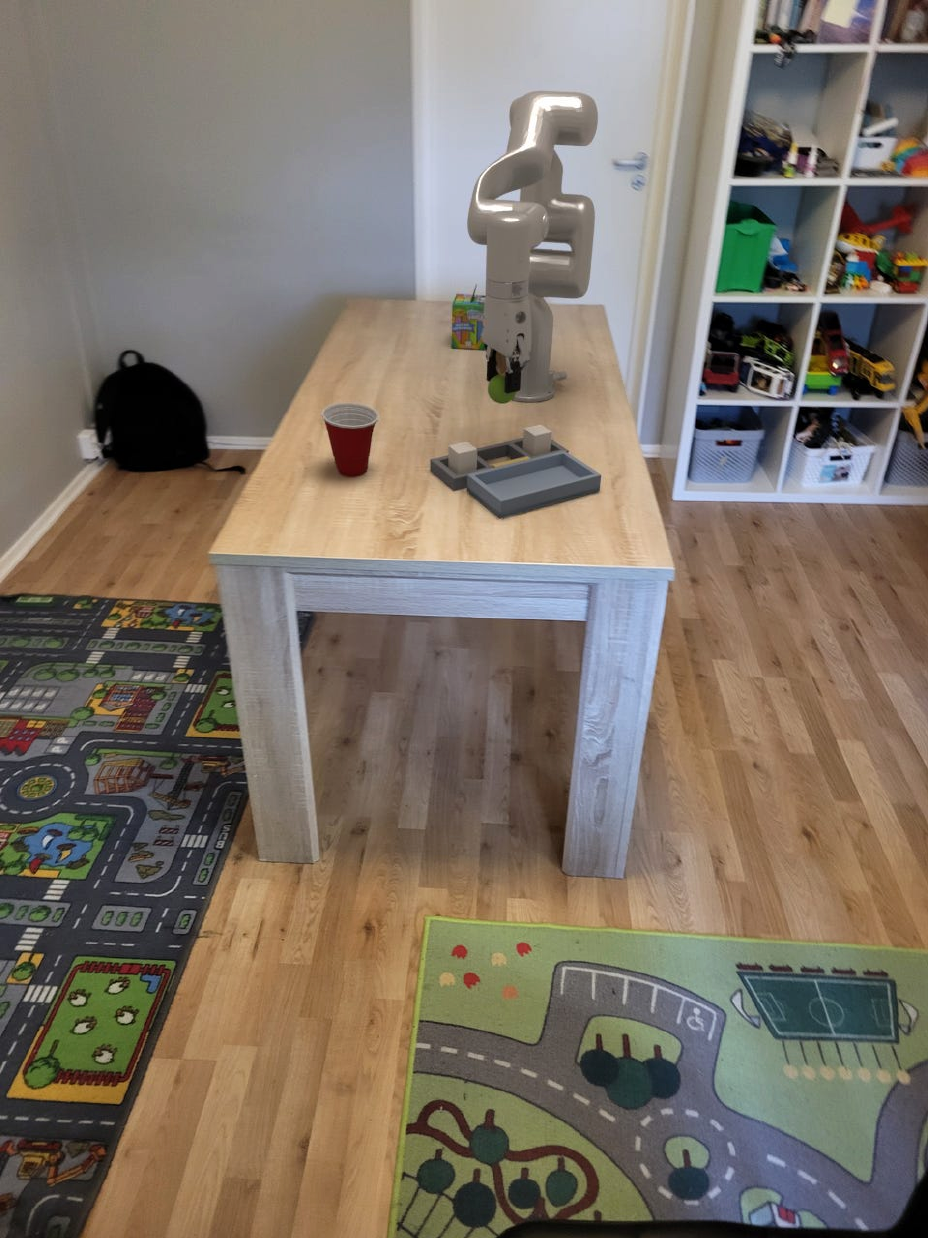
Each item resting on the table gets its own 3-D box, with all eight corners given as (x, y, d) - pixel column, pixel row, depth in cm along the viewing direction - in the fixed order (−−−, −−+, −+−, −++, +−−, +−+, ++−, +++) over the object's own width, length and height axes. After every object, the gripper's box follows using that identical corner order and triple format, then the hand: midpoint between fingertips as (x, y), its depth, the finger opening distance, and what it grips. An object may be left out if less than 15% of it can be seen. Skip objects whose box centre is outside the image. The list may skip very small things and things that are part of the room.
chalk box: (455, 337, 246) (455, 279, 238) (489, 339, 245) (491, 281, 237) (450, 349, 239) (450, 290, 230) (486, 351, 238) (487, 292, 229)
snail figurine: (498, 412, 173) (501, 348, 166) (482, 399, 177) (484, 337, 170) (524, 407, 175) (527, 344, 168) (507, 394, 179) (509, 333, 172)
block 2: (538, 452, 189) (540, 424, 186) (549, 459, 186) (551, 431, 183) (522, 456, 187) (523, 428, 184) (532, 463, 185) (534, 435, 181)
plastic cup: (373, 485, 176) (370, 426, 169) (318, 480, 177) (313, 421, 170) (387, 461, 185) (385, 403, 178) (335, 455, 186) (331, 398, 179)
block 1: (466, 469, 182) (466, 441, 179) (476, 477, 179) (477, 449, 176) (448, 474, 180) (448, 445, 177) (458, 482, 178) (458, 453, 174)
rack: (541, 444, 192) (542, 431, 190) (567, 462, 185) (568, 449, 184) (430, 470, 181) (430, 457, 180) (454, 490, 175) (454, 477, 173)
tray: (563, 466, 184) (564, 450, 182) (599, 491, 175) (601, 474, 173) (466, 491, 174) (466, 474, 172) (500, 518, 166) (500, 501, 164)
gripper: (552, 297, 159) (545, 398, 170) (499, 272, 171) (496, 367, 182) (515, 304, 156) (510, 406, 167) (464, 277, 168) (463, 374, 179)
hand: (503, 384), depth 174 cm, fingers closed on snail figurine, 5 cm apart
